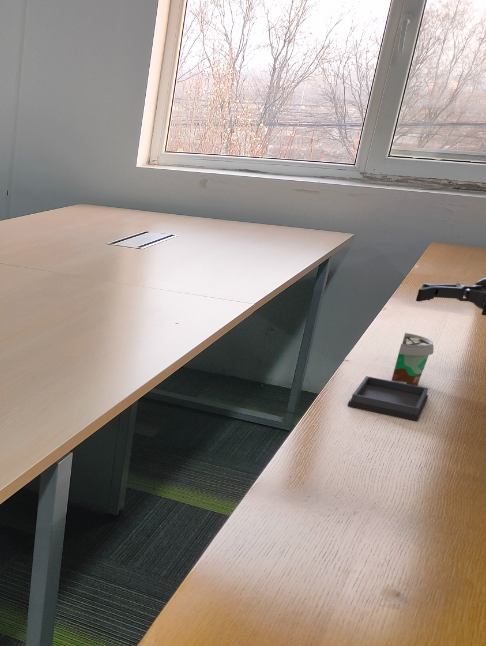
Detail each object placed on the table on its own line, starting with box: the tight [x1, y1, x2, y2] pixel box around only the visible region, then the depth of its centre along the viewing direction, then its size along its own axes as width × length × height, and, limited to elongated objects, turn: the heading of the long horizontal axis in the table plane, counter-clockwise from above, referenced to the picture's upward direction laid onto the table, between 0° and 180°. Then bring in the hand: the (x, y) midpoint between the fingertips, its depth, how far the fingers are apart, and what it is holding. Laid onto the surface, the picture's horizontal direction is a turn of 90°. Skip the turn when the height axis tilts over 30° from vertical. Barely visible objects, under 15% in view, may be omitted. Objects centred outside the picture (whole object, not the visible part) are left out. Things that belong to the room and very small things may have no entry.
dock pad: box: [347, 375, 429, 422], centre depth 164 cm, size 12×16×2 cm
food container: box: [390, 332, 435, 386], centre depth 174 cm, size 12×6×10 cm, turn 147°
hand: (450, 301), depth 174 cm, fingers open, 13 cm apart
